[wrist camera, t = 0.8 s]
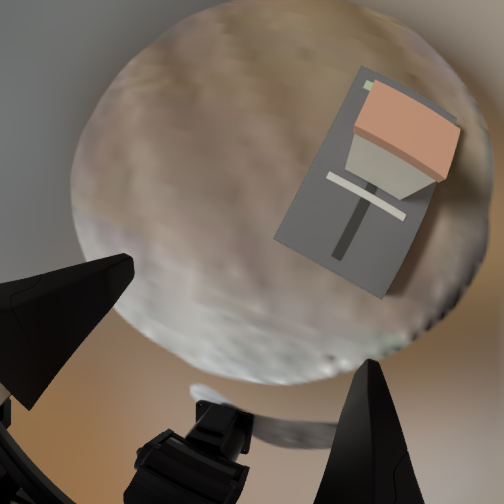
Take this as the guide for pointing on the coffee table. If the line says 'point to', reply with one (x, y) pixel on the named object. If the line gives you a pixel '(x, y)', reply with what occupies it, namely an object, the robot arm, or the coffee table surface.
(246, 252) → the coffee table surface
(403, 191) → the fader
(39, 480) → the robot arm
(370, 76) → the plate
